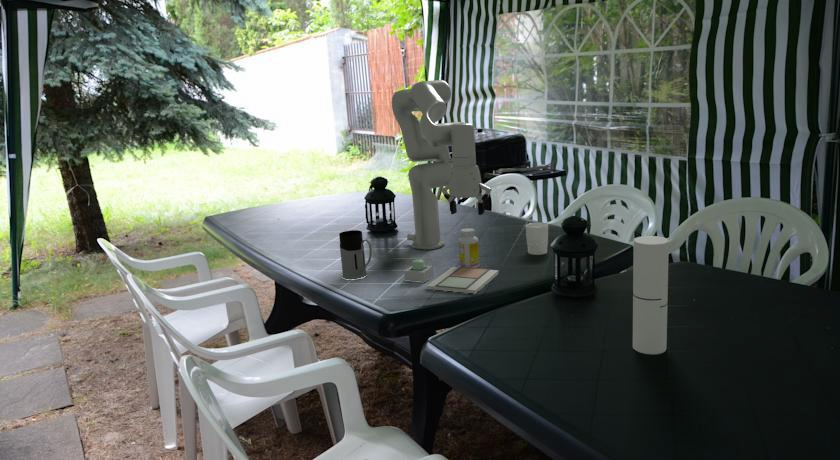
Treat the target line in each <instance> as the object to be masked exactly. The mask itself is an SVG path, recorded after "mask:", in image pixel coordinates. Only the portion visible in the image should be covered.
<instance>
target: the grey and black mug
mask: <svg viewBox="0 0 840 460" xmlns="http://www.w3.org/2000/svg"><path fill="white" fill-rule="evenodd" d="M338 237H339V250H340V251H339V252H340V261H341V270H342V276H341V278H342V277H343V278H345V279H357V278H361V277H364V276H366V275H367V274H368V272H367V266H368V265H369V263H370V262H371V259H372V256H373V255H372V253H373V251H372V249H373V248H372V244H371V242H370V240H368V239H363V231H361V230H358V229H357V230H355V229H352V230H345V231H341V232H339V235H338ZM365 241H366V242H367V243H368V248H369V256H368V260H367V262H366V255H365V254H366V253H365V245H364V242H365Z"/></svg>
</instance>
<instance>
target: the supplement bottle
mask: <svg viewBox="0 0 840 460" xmlns="http://www.w3.org/2000/svg"><path fill="white" fill-rule="evenodd" d="M475 233H476V230H475V229H474V228H471V227H469V228H462V229H460V235H461V237H459V238H458V241H457V243H458V254H459V255H458V256H459V260H458V261H459V267H470V268H480V264H481V263H480V251H479V250H480V247H479V238H478V237H477V236H476V235H475Z"/></svg>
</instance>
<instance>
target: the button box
mask: <svg viewBox="0 0 840 460" xmlns="http://www.w3.org/2000/svg"><path fill="white" fill-rule="evenodd" d="M434 272H435V271H434V266H433V265H425V269H424V270H423V271H415V270H412V265H411V266H409V267H408V268H406V269H405V270H403V275H404V276H403V277H404V281H405V280H410V281H421V282H424V281H426V280H427V279H429V278H431V277H432V276H435V275H434ZM432 278H433V277H432ZM432 278H431V279H432ZM429 280H430V279H429Z"/></svg>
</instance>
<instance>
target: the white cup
mask: <svg viewBox="0 0 840 460" xmlns="http://www.w3.org/2000/svg"><path fill="white" fill-rule="evenodd" d="M525 235H526V237H525V238H526V246H527V253H528V254H529V255H535V256H542V255H545V254H547V253H548V244H549V224H548V223H546V222H530V223H526V224H525Z"/></svg>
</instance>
